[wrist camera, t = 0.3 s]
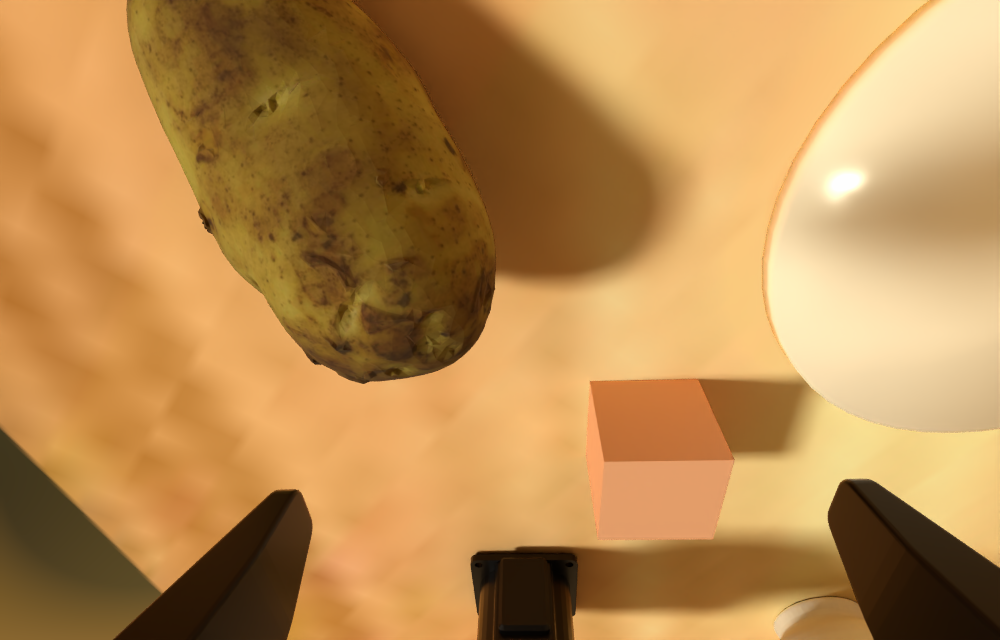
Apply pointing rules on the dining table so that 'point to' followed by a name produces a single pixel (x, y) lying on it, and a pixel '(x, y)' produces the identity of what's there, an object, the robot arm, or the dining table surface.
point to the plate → (899, 231)
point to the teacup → (822, 620)
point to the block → (655, 460)
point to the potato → (323, 177)
